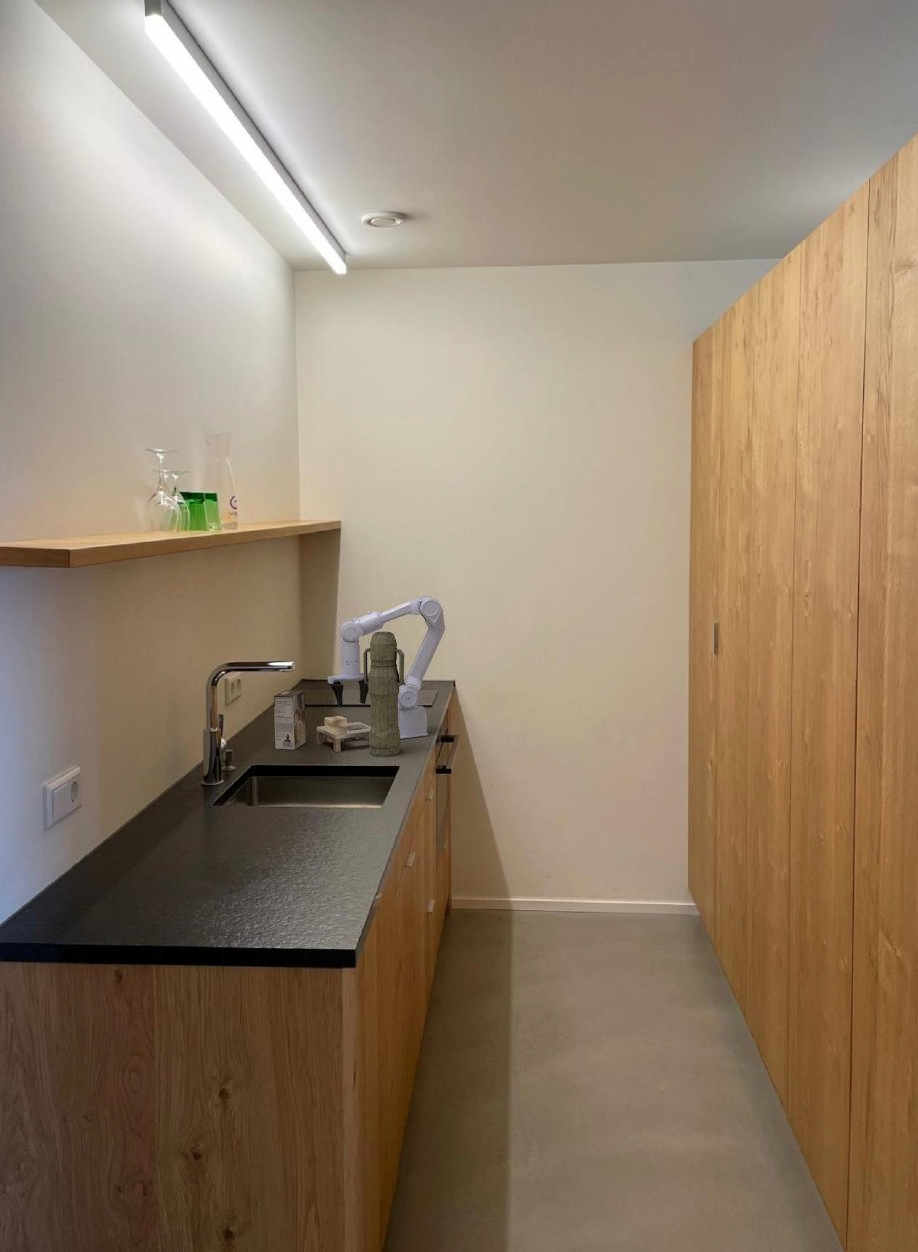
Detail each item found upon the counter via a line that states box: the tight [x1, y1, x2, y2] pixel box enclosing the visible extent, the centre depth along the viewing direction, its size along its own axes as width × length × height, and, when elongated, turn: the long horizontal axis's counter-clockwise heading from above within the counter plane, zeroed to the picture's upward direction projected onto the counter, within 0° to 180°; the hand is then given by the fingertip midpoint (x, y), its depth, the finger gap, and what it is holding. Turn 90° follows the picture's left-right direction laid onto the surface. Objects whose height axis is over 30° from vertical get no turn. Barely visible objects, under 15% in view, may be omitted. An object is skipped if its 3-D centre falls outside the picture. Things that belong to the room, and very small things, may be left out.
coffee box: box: [273, 689, 307, 750], centre depth 286 cm, size 9×6×16 cm
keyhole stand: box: [316, 721, 371, 753], centre depth 287 cm, size 14×14×5 cm
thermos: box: [362, 631, 405, 758], centre depth 275 cm, size 9×12×35 cm
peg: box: [324, 715, 348, 743], centre depth 285 cm, size 5×5×7 cm
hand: (351, 704), depth 296 cm, fingers open, 7 cm apart
